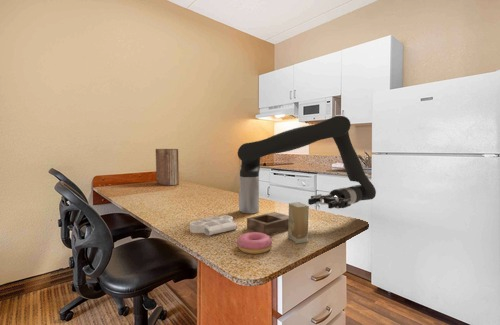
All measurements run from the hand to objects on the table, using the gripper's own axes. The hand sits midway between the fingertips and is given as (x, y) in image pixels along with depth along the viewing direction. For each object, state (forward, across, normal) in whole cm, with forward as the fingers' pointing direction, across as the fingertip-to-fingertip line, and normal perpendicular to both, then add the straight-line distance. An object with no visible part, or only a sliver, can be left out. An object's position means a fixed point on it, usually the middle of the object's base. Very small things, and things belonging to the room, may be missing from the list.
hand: (318, 203), depth 93 cm
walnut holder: (+9, -15, +10) cm, 21 cm away
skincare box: (+11, 0, +11) cm, 16 cm away
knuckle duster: (+26, -29, +11) cm, 41 cm away
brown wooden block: (-7, -158, +9) cm, 158 cm away
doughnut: (+27, -5, +11) cm, 30 cm away
